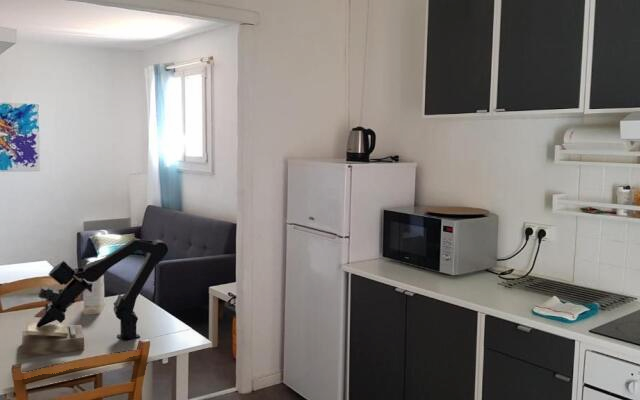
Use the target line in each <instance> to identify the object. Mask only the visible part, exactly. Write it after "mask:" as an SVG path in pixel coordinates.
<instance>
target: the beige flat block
mask: <svg viewBox="0 0 640 400" xmlns="http://www.w3.org/2000/svg"><path fill="white" fill-rule="evenodd" d="M82 327H83V326H82V324H77V325H75V324H74V323H72V324H69V325H67V330H68V336H67V337H65V336H48V335H31V334H26V332H27V330H23V331H22V332H21V333H22V334H21V359H23V358H29V357H30V358H31V357H39V356H47V355H53V354H61V353H69V352H70V351H71V352H77V350H78V351H84V350H85V336H84V331H83V328H82ZM71 352H70V353H71Z"/></svg>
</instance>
